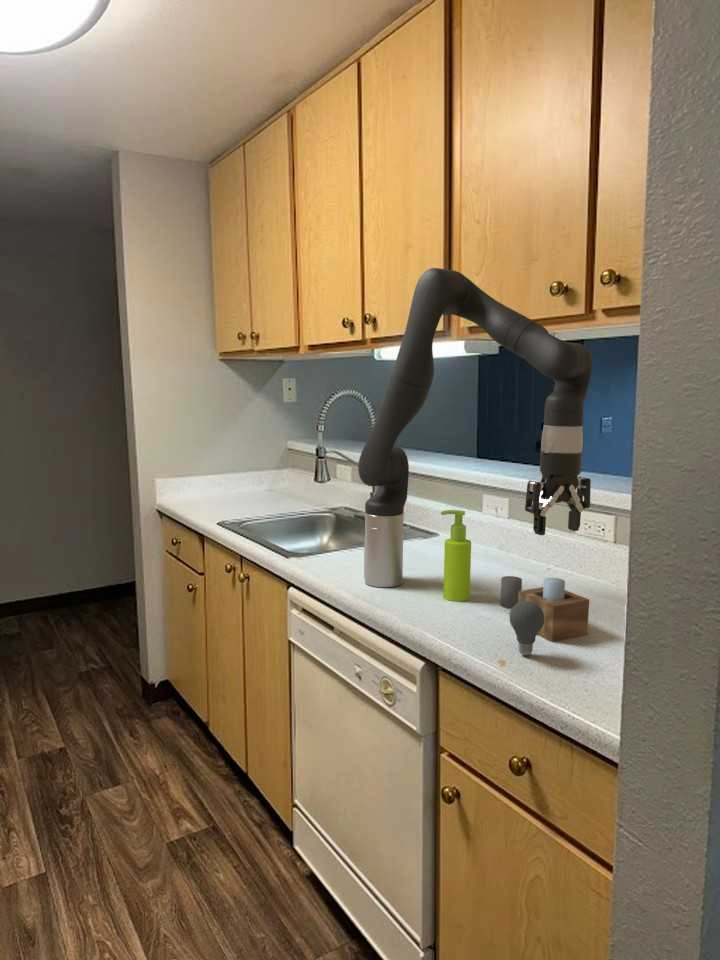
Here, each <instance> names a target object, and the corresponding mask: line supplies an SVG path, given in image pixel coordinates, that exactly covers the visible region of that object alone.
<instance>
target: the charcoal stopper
mask: <svg viewBox="0 0 720 960" xmlns="http://www.w3.org/2000/svg"><path fill="white" fill-rule="evenodd" d="M522 584H523V579H522V577H518V576H513V575H512V576H511V575H506V576H502V577H501V579H500V603H499V604H500V606H501V607H502V608H505V609H507V610H508V609H509V610H511V609H512V608H513V606H514V605H515V604H517V603H518V591H523V590H522V588H523V587H522V586H523V585H522Z"/></svg>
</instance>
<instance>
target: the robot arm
mask: <svg viewBox="0 0 720 960" xmlns="http://www.w3.org/2000/svg"><path fill="white" fill-rule="evenodd" d="M417 280H418V281H417V282H416V285H415V287H414V291H413V295H412V300H411V304H410V309H409V314H408V318H407V322H406V327H405V330H404V334H403V337H402V340H401V344H400V346H399V348H398V349H399V350H398V353H397V355H396V360H395V363H394V365H393V367H392V370H391V373H390V377H389V380H388V382H387V386H386V389H385V393H384V397H383V399H382V402H381V405H380V407H379V411H378V413H377V415H376V418H375V420H374V424H373V426H372V429H371V431H370V433H369V435H368V437H367V440H366V442H365V444H364V446H363V448H362V451H361V453H360V457H359V459H358V464H357V465H358V467H357V469H358V471H357V472H358V475H359V479H360V480H361V482H362V483H363V484H364V485H366V486H369V487H378V488H377V490H376V492H375V493H374V494H373V495H372V496H371V497H370V498H369V499H367V500H366V501H365V503H364V504H365V506H364V511H365V512H364V514H365V515H364V516H365V517H364V525H365V526H364V544H363V546H364V547H363V548H364V551H363V555H364V556H363V559H364V560H363V561H364V562H363V564H364V565H363V579H364V583H365V584H367V585H369V586H370V587H371V586H372V587H374V588H375V587H376V588H391V587H392V588H393V587H394V588H395V587H397V586H400V585H402V584H403V576H404V575H403V573H404V572H403V569H404V509H405V505H406V502H407V499H408V489H409V487H408V486H409V476H410V468H409V467H410V465H409V459H408V456H407V454H406V452H405V450H404V449H403V448H401V447H400V446H398V445H395V444H396V442H397V439H398V438H399V436H400V435H401V433H402V432H403V430H404V429H405V428H406V427H407V426H408V425H409V424H410V423H411V422H412V420H413V419H414V418H415V417H416V416H417V414H418V413H419V412H420V411H421V410H422V408H423V406H424V405H425V402H426V399H427V397H428V395H429V392H430V389H431V386H432V384H433V380H434V376H435V363H434V354H433V343H434V338H435V334H436V331H437V328H438V326H439V323H440V320H441V318H442V316H452V315H453V316H457V317H459V318H462V319H465V320H467V321H470V322H472V323H474V324H475V325H477V326H479V327H480V328H481V329H482V330H484V331H485V333H486V334H487V335H488V336H489V337H490V338H491V339H492V340H493V341H495V342H496V343H497V344H499V345H500V346H502V347H503V348H504V349H506V350H508V351H510V352H511V353H513V354H515V355H516V356H519V357H520V358H523V359H524V360H525V361H527V363H529V364H530V365H531V366H532V367H533V368H534V369H536V370H537V371H538V372H539V373H540V374H542V375H544V376H545V377H548V378H550V379H551V380H555V381H554V386H553V387H554V388H553V392H552V393H551V394H549V395H548V396H546V400H545V403H544V411H543V412H544V413H543V414H544V416H543V429H542V434H541V440H540V441H541V442H540V443H541V444H540V445H541V446H540V459H539V460H540V461H539V468H540V469H539V471H540V474H541V480H540V481H536V480H528V482H527V485H526V494H525V495H526V497H525V503H524V511H525V512H526V513H527V512H528V513H530V514H533V525H532V529H533V532H534V534H535V535H538V536H545V535H546V525H547V516H546V515H547V512H548V511H549V509H550V508H552V507H554V505H555V504H558V503H561V502H563V503H566V505H567V507H568V508H569V511H568V519H567V520H568V522H567V529H568V530H569V531H572V532H578V531H579V529H580V526H581V515H582V514H581V513H582V512H583V511H584V510H585V509H589V508H590V507H591V480H592V479H591V478H589V477H583V476H579V475H580V474H581V473H582V462H583V461H582V459H583V445H584V444H583V443H584V434H583V433H584V432H583V421H584V401H585V399H586V397H587V392H588V389H589V385H590V381H591V378H592V377H591V376H592V371H593V358H592V355H591V352H590V350H589V349H588V348H587V347H586V346H585V345H584V344H581V343H578V342H568V341H564V340H562V339H560V338H558V337H556V336H555V335H552V334H551V333H549V331H548V330H547V328H545V327H544V326H543V325H542V324H540V323H539V322H536V321H534V320H533V319H531V318H529V317H527V316H526V315H523V314H522V313H520V312H518V311H516V310H514V309H512V308H510V307H509V306H506V305H505V304H503V303H502V302H499V301H498V300H496V299H495V298H494V297H492V296H490V294H488V293H486V292H485V291H484V290H482V289H481V288H480V287H479V286H478V285H476V283H474V282H473V281H472V280H471V279H469V278H468V277H467V276H465V275H464V274H463V273H461V272H459V271H458V270H457V271H456V270H453V269H446V268H439V267H431V268H429V269H427V270H425V271H424V272H423V273H422V274H421V275H420V277H419V278H418V279H417Z"/></svg>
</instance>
